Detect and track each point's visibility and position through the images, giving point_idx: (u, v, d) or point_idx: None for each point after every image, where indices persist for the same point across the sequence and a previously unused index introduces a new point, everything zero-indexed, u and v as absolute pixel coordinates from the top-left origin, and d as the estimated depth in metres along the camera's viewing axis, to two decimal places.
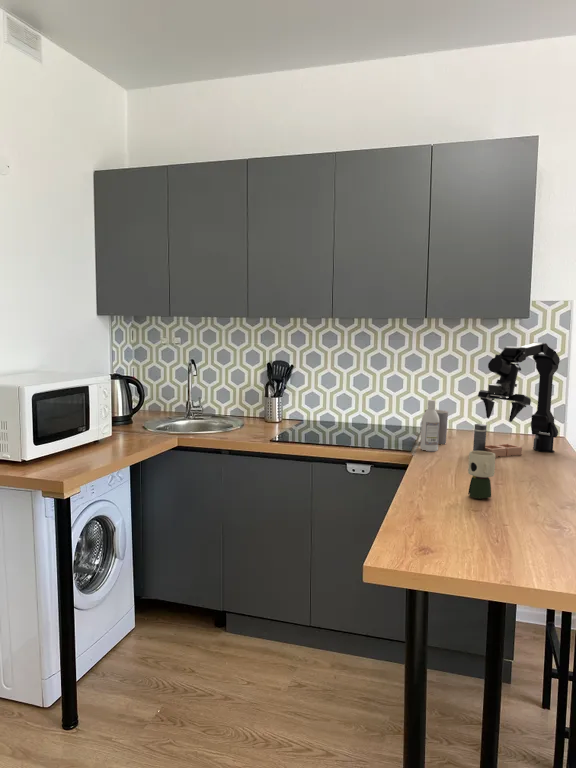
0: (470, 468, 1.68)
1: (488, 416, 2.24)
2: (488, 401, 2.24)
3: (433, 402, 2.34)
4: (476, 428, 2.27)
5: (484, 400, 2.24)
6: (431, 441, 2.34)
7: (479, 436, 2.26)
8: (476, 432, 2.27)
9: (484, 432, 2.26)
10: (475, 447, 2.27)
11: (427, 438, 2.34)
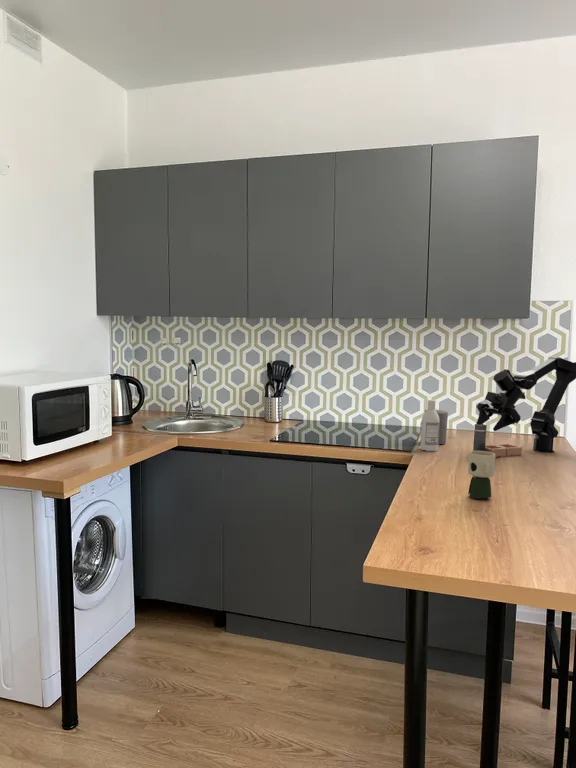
0: (470, 468, 1.68)
1: None
2: (483, 412, 2.34)
3: (433, 402, 2.34)
4: (476, 428, 2.27)
5: (480, 410, 2.35)
6: (431, 441, 2.34)
7: (479, 436, 2.26)
8: (476, 432, 2.27)
9: (484, 432, 2.26)
10: (475, 447, 2.27)
11: (427, 438, 2.34)
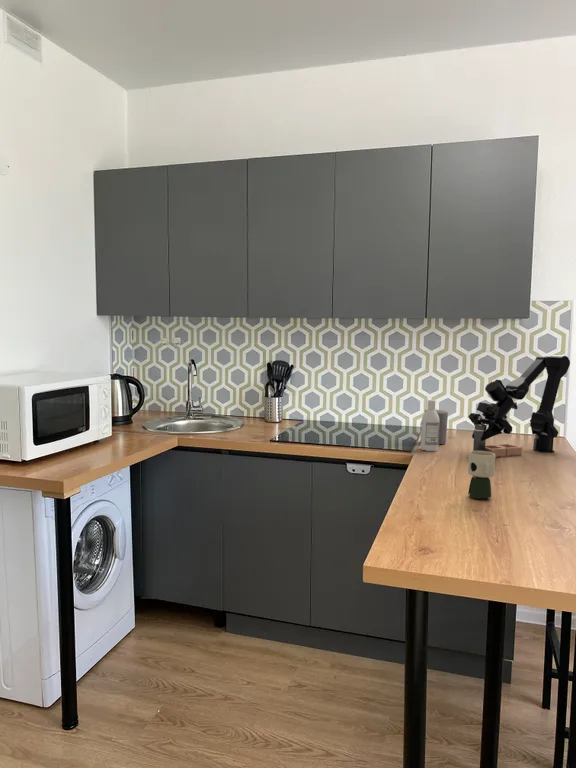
0: (470, 468, 1.68)
1: (473, 436, 2.30)
2: (479, 423, 2.31)
3: (433, 402, 2.34)
4: (476, 428, 2.27)
5: (476, 421, 2.32)
6: (431, 441, 2.34)
7: (479, 436, 2.26)
8: (476, 432, 2.27)
9: (484, 432, 2.26)
10: (475, 447, 2.27)
11: (427, 438, 2.34)
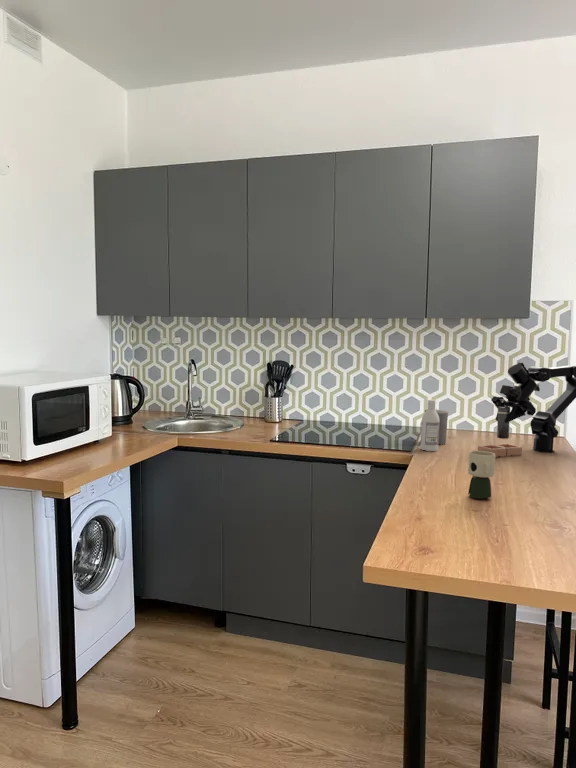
0: (470, 468, 1.68)
1: (497, 418, 2.34)
2: None
3: (433, 402, 2.34)
4: (500, 410, 2.31)
5: (499, 404, 2.36)
6: (431, 441, 2.34)
7: (503, 418, 2.30)
8: (500, 414, 2.31)
9: (508, 414, 2.30)
10: (499, 429, 2.32)
11: (427, 438, 2.34)
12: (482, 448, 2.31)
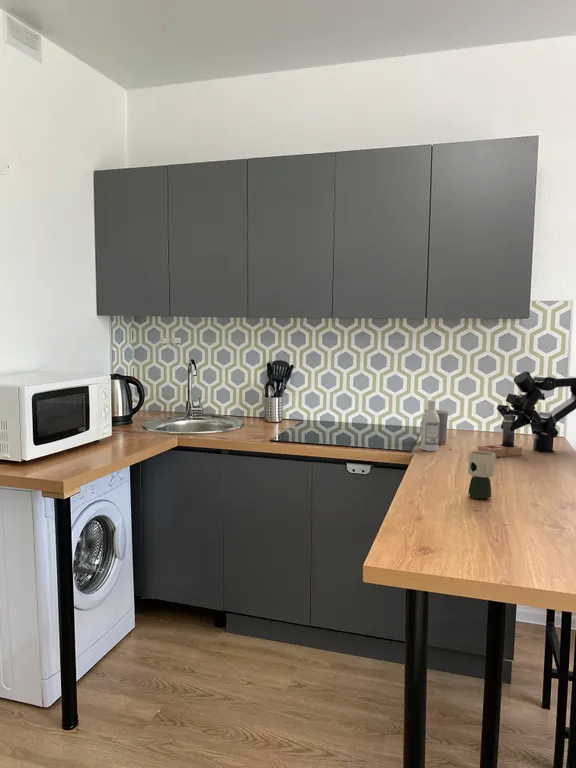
0: (470, 468, 1.68)
1: (502, 427, 2.36)
2: (508, 414, 2.37)
3: (433, 402, 2.34)
4: (505, 419, 2.33)
5: (504, 412, 2.38)
6: (431, 441, 2.34)
7: (508, 427, 2.32)
8: (505, 422, 2.33)
9: (513, 422, 2.32)
10: (504, 437, 2.33)
11: (427, 438, 2.34)
12: (482, 448, 2.31)
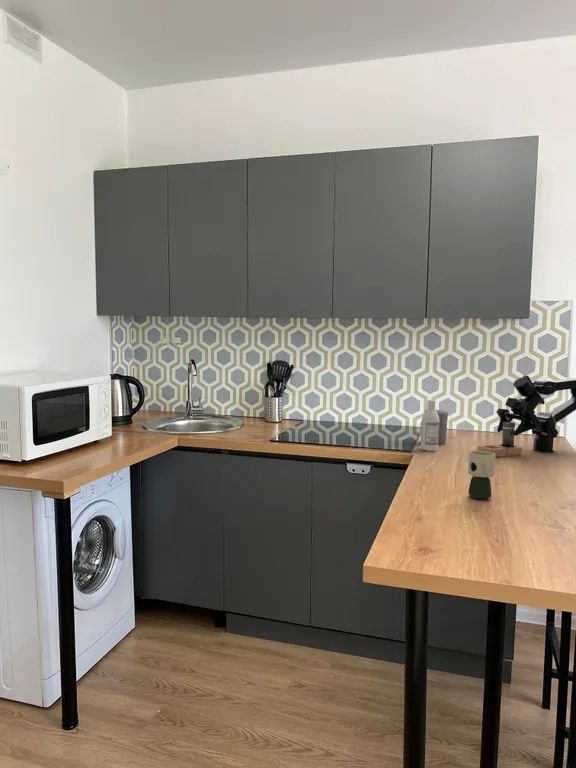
0: (470, 468, 1.68)
1: (499, 430, 2.37)
2: (504, 417, 2.39)
3: (433, 402, 2.34)
4: (505, 426, 2.33)
5: (501, 415, 2.39)
6: (431, 441, 2.34)
7: (508, 434, 2.32)
8: (505, 430, 2.33)
9: (513, 430, 2.32)
10: (504, 444, 2.33)
11: (427, 438, 2.34)
12: (482, 448, 2.31)
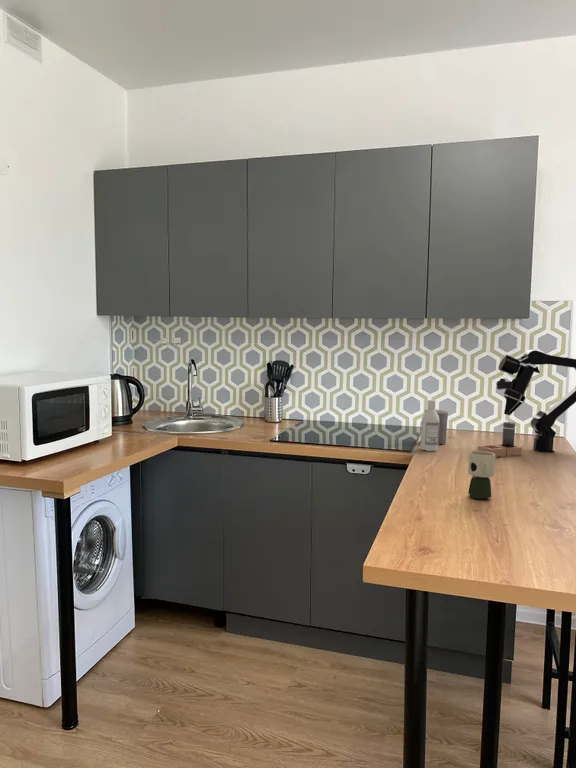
0: (470, 468, 1.68)
1: (508, 413, 2.47)
2: None
3: (433, 402, 2.34)
4: (505, 426, 2.33)
5: None
6: (431, 441, 2.34)
7: (508, 434, 2.32)
8: (505, 430, 2.33)
9: (513, 430, 2.32)
10: (504, 444, 2.33)
11: (427, 438, 2.34)
12: (482, 448, 2.31)
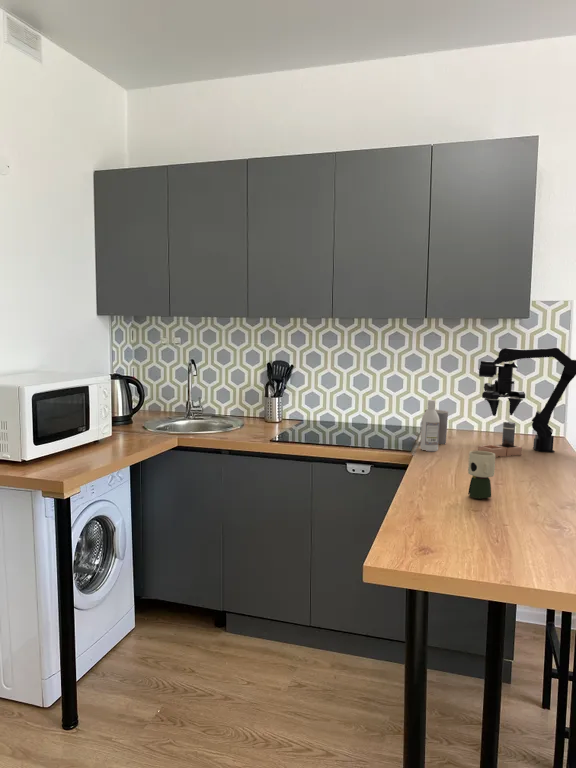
0: (470, 468, 1.68)
1: (510, 413, 2.51)
2: (510, 400, 2.52)
3: (433, 402, 2.34)
4: (505, 426, 2.33)
5: None
6: (431, 441, 2.34)
7: (508, 434, 2.32)
8: (505, 430, 2.33)
9: (513, 430, 2.32)
10: (504, 444, 2.33)
11: (427, 438, 2.34)
12: (482, 448, 2.31)
